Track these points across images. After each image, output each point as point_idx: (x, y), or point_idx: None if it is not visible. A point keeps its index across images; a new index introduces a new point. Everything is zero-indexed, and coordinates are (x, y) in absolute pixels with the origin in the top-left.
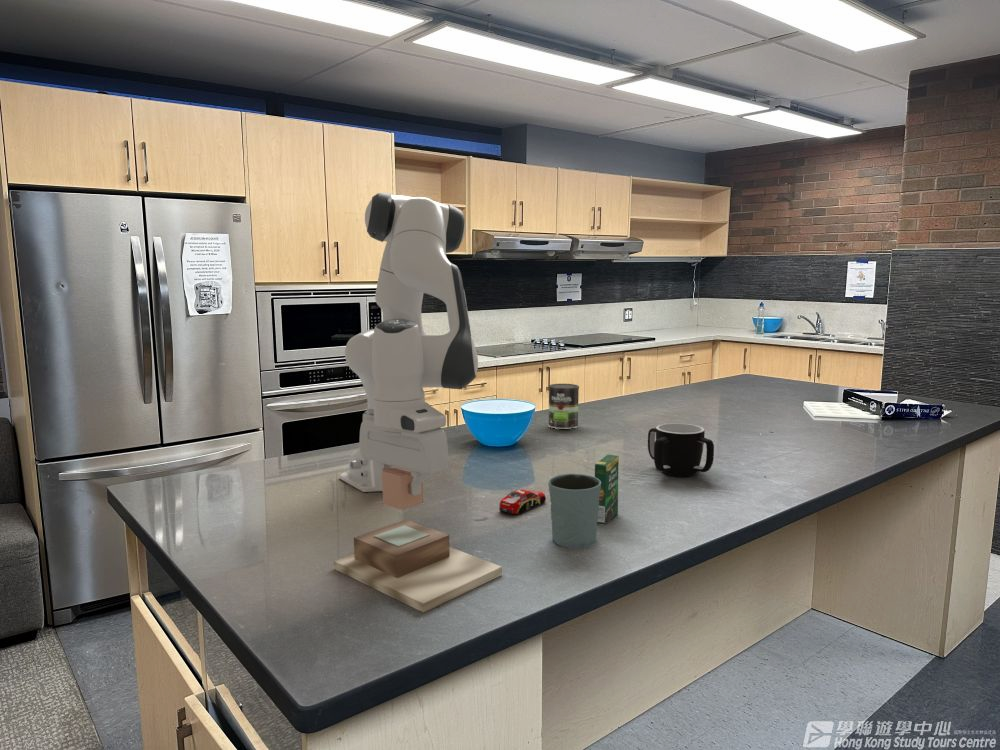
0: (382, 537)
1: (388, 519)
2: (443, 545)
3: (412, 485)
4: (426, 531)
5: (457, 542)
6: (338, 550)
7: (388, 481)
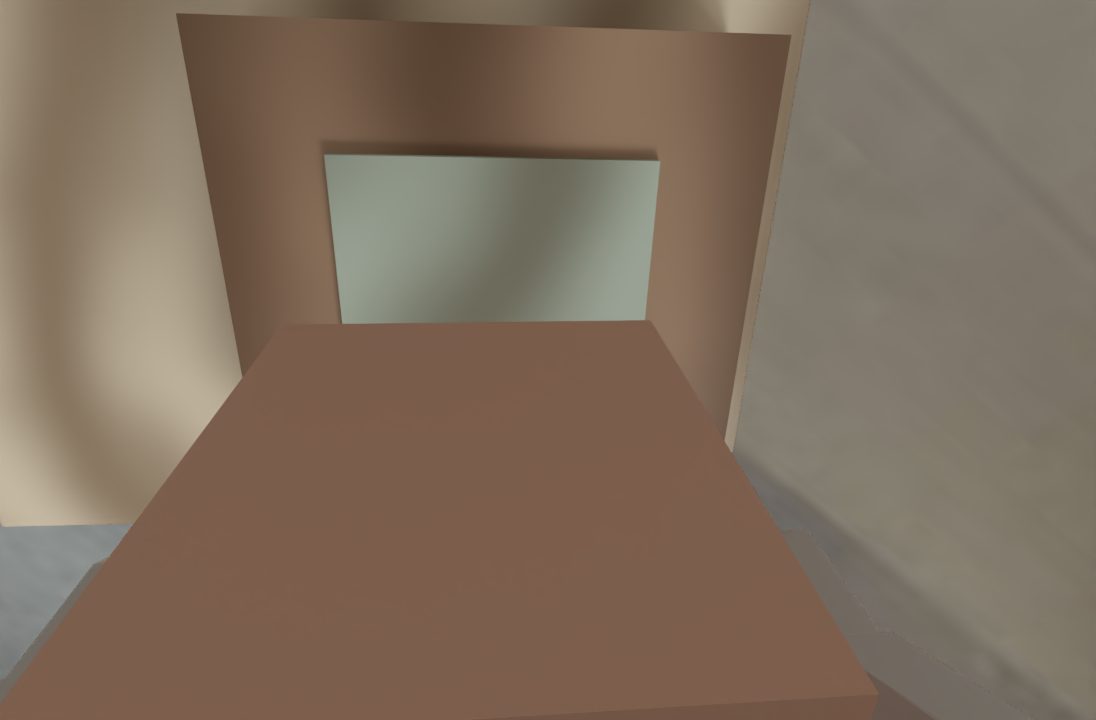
0: (575, 186)
1: (993, 559)
2: None
3: (13, 684)
4: None
5: None
6: (975, 133)
7: (550, 530)
